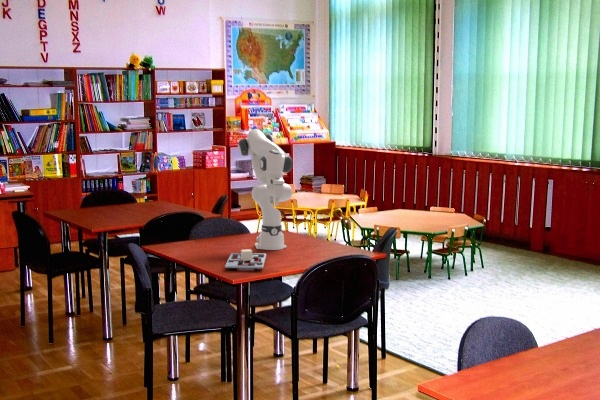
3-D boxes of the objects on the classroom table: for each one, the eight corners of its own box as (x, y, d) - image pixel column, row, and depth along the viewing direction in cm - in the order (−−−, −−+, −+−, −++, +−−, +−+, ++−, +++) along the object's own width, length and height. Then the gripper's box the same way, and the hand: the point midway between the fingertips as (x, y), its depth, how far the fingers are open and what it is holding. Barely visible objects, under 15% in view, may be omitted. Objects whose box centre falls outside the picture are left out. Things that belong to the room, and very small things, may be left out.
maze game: (231, 258, 405) (231, 252, 405) (266, 259, 405) (266, 253, 405) (224, 272, 371) (224, 266, 370) (263, 272, 371) (263, 266, 370)
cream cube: (241, 258, 389) (241, 249, 388) (250, 258, 390) (250, 249, 390) (243, 260, 384) (243, 251, 383) (252, 260, 386) (252, 251, 385)
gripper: (263, 177, 406) (263, 202, 407) (274, 181, 387) (273, 207, 388) (274, 177, 408) (274, 202, 409) (285, 181, 388) (284, 206, 390)
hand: (274, 204), depth 399 cm, fingers open, 8 cm apart
